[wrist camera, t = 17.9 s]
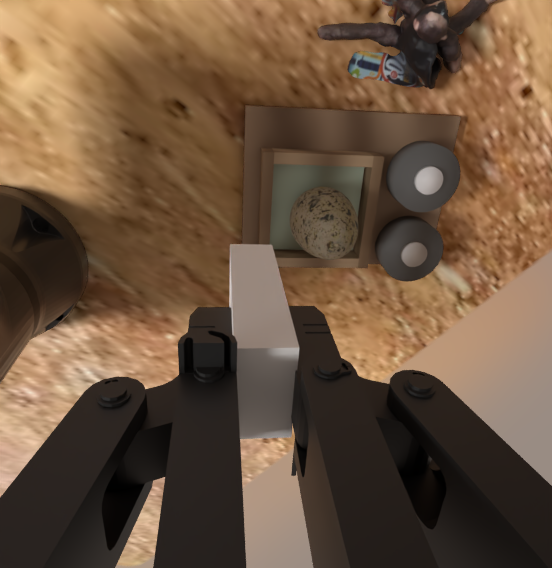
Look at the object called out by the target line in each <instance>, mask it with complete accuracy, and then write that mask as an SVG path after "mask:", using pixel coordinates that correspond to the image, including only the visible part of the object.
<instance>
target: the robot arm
mask: <svg viewBox="0 0 552 568" xmlns="http://www.w3.org/2000/svg"><path fill="white" fill-rule="evenodd" d="M87 278H88V261H87V256H86V252H85V249H84V246H83V244H82V242H81V240H80V238H79V236H78V234H77V233H76V231H75V229H74V228H73V227H72V225H71V224H70V223H69V222H68V221H67V219H66V218H65V217H64V216H63V215H62V214H61V213H59V212H58V211H57V210H56V209H55V208H53V207H52V206H51V205H49V204H48V203H46V202H45V201H43V200H41V199H39V198H38V197H36V196H34V195H32V194H29V193H27V192H24V191H21V190H18V189H14V188H10V187H5V186H0V383H1V382H2V380H3V379H4V377H5V376H6V375H7V373H8V372H9V370H10V369H11V367H12V366H13V364H14V363H15V361H16V360H17V358H18V357H19V355H20V354H21V352H22V351H23V349H24V348H25V346H26V345H27V343H28V342H29V340H30V339H32V338H34V337H36V336H38V335H40V334H42V333H44V332H45V331H47V330H49V329H51V328H53V327H54V326H56V325H58V324H59V323H60V322H62V321H63V320H64V319H65V318H66V317H67V316H68V315H69V314H70V313H71V312H72V310H73V309H74V307H75V306H76V304H77V302H78V301H79V299H80V297H81V296H82V294H83V292H84V289H85V287H86V283H87ZM178 356H179V375H178V376H177V377H176V378H175V379H173V380H172V381H170V382H168V383H166V384H164V385H160V386H157V387H153V388H149V389H145V387H144V385H143V384H142V383H140V382H139V381H138V380H136V379H132V378H129V377H113V378H109V379H104V380H102V381H100V382H97V383H95V384H93V385H92V386H91V387H90V388H88V389H87V390H86V391H85V392H84V393H83V395H82V396H81V397H80V398H79V400H78V401H77V402H76V403H75V405H74V406H73V407H72V408H71V410H70V411H69V412H68V413H67V415H66V416H65V417H64V418H63V420H62V421H61V422H60V423H59V425H58V426H57V427H56V428H55V430H54V431H53V432H52V433H51V435H50V436H49V437H48V438H47V440H46V441H45V442H44V443H43V445H42V446H41V447H40V448H39V450H38V451H37V452H36V454H35V455H34V456H33V457H32V459H31V460H30V461H29V462H28V464H27V465H26V466H25V467H24V469H23V470H22V471H21V472H20V474H19V475H18V476H17V477H16V479H15V480H14V481H13V482H12V484H11V485H10V486H9V487H8V489H7V490H6V491H5V492H4V494H3V495H2V496H1V497H0V568H115V567H116V564H117V562H118V560H119V558H120V556H121V554H122V551H123V549H124V547H125V545H126V543H127V540H128V538H129V536H130V534H131V532H132V529H133V527H134V525H135V523H136V521H137V519H138V516H139V514H140V512H141V510H142V508H143V505H144V503H145V501H146V499H147V497H148V494H149V492H150V490H151V488H152V483H153V480H156V479H160V478H163V477H165V484H164V492H163V499H162V507H161V514H160V522H159V529H158V537H157V544H156V552H155V560H154V567H153V568H246V553H245V534H244V512H243V491H242V471H241V450H240V439H254V438H283V437H291V434H292V423H293V428H294V433H295V443H294V453H293V463H292V476H295V475H296V470H297V475H298V481H299V486H300V492H301V498H302V504H303V509H304V515H305V521H306V527H307V532H308V538H309V543H310V549H311V555H312V561H313V567H314V568H552V486H551V485H550V484H549V483H548V482H547V481H546V480H545V479H544V478H543V477H542V476H541V475H540V474H538V473H537V472H536V471H535V470H534V469H533V468H532V467H531V466H530V465H529V464H528V463H527V462H526V461H525V460H524V459H523V458H521V456H520V455H518V454H517V453H516V452H515V451H514V450H513V449H512V448H511V447H510V446H509V445H508V444H507V443H506V442H505V441H504V440H503V439H502V438H501V437H499V436H498V435H497V434H496V433H495V432H494V431H493V430H492V429H491V428H490V427H489V426H488V425H487V424H486V423H485V422H484V421H483V420H482V419H481V418H480V417H478V416H477V415H476V414H475V413H474V412H473V411H472V410H471V409H470V408H469V407H468V406H467V405H466V404H465V403H464V402H463V401H462V400H461V399H460V398H458V397H457V396H456V395H455V394H454V393H453V392H452V391H451V390H450V389H449V388H448V387H447V386H446V385H445V384H443V382H441V381H440V380H439V379H437V378H436V377H434V376H432V375H430V374H427V373H425V372H421V371H415V370H403V371H400V372H397V373H395V374H394V375H393V376H392V377H391V379H390V384H386V383H381V382H376V381H371V380H368V379H364V378H362V377H359V376H358V374H357V372H356V370H355V369H354V367H353V366H352V364H351V363H349V362H347V361H346V360H344V359H342V358H341V357H340V354H339V351H338V349H337V346H336V344H335V341H334V339H333V336H332V334H331V331H330V329H329V326H328V324H327V321H326V318H325V316H324V314H323V313H322V312H320V311H319V310H318V309H317V308H316V307H315V306H288V303H287V299H286V295H285V291H284V288H283V284H282V280H281V276H280V272H279V269H278V265H277V261H276V257H275V253H274V250H273V246H272V245H263V244H230V289H229V307H198V308H197V309H196V310H195V311H194V312H193V313H192V314H191V316H190V320H189V328H188V333H186V334H185V335H183V336H182V337H181V338H180V340H179V342H178Z"/></svg>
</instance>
